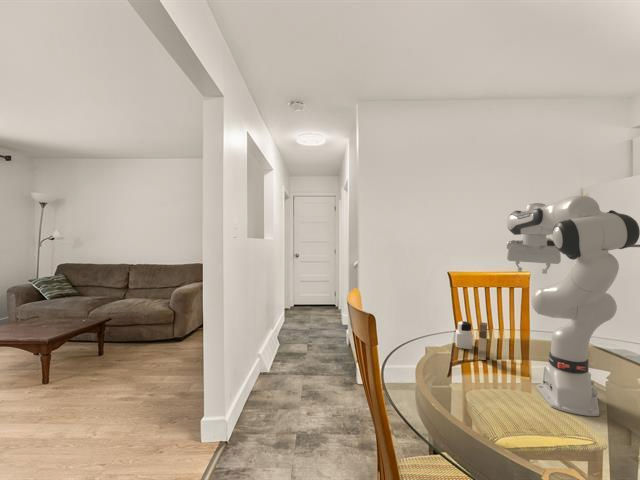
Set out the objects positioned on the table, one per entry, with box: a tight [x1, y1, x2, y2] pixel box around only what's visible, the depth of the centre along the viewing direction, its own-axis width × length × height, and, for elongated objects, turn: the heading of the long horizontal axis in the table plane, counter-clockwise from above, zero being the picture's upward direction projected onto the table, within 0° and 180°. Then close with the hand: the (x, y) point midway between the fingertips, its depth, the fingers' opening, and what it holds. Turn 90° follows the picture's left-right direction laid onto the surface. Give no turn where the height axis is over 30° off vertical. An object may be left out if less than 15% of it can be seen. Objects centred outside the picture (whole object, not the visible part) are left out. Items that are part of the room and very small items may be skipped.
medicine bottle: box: [455, 320, 474, 350], centre depth 181 cm, size 7×7×12 cm
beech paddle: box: [477, 321, 488, 360], centre depth 166 cm, size 6×3×16 cm, turn 157°
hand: (532, 272), depth 162 cm, fingers open, 8 cm apart
